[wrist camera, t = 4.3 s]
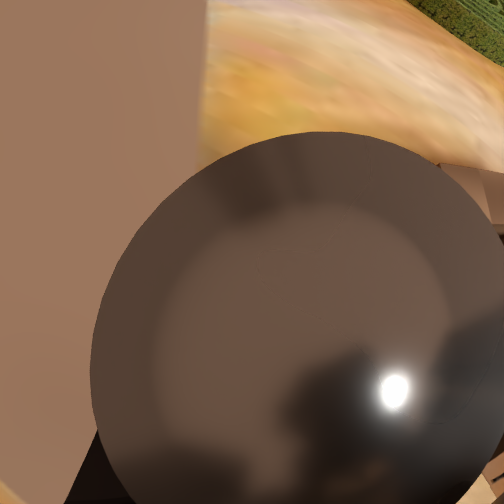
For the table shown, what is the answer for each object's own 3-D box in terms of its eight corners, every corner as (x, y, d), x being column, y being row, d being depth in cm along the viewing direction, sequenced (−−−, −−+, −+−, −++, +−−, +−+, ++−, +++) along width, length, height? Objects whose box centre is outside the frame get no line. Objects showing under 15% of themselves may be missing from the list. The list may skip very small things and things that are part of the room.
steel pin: (283, 364, 15) (503, 490, 2) (199, 370, 14) (145, 584, 1) (277, 281, 15) (493, 155, 3) (193, 286, 15) (93, 139, 2)
